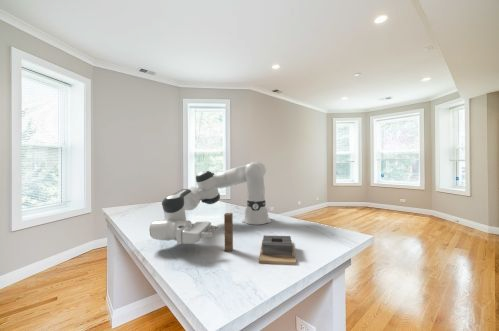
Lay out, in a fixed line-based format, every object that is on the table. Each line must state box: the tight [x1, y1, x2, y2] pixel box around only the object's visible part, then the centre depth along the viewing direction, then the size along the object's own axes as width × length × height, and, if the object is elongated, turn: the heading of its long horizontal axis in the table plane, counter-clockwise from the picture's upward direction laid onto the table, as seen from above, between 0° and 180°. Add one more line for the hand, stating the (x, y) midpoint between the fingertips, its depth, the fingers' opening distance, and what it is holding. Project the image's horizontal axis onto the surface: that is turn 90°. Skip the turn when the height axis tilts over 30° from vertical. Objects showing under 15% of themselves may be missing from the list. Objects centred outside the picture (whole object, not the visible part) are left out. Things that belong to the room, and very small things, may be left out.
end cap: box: [258, 234, 297, 266], centre depth 99 cm, size 24×14×5 cm, turn 174°
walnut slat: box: [223, 212, 234, 253], centre depth 101 cm, size 3×3×16 cm
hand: (215, 231), depth 101 cm, fingers open, 8 cm apart
